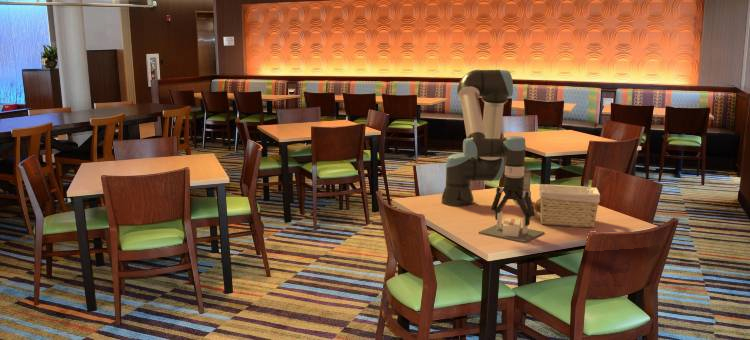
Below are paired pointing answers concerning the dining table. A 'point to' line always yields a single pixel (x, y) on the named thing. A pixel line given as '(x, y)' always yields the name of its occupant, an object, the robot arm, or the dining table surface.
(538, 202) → the bread roll
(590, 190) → the storage basket
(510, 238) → the mat
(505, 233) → the cream striped block
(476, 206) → the dining table surface
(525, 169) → the coffee box
